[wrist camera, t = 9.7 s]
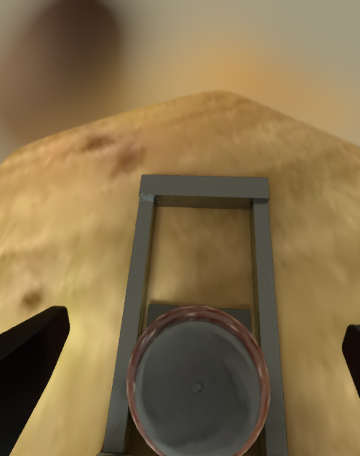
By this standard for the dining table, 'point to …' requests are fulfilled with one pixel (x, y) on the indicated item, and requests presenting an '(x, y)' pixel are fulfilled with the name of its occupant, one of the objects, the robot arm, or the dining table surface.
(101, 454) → the gray rotary dial box
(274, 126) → the dining table surface
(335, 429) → the dining table surface
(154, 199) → the grey rectangular frame
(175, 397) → the supplement bottle
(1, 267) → the dining table surface
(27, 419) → the robot arm
